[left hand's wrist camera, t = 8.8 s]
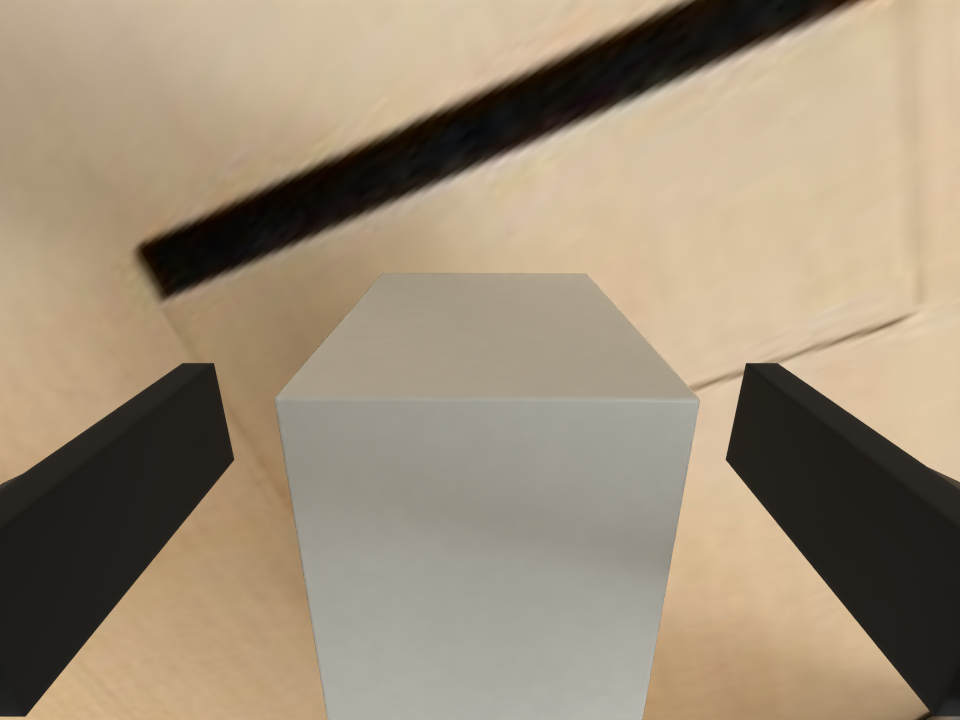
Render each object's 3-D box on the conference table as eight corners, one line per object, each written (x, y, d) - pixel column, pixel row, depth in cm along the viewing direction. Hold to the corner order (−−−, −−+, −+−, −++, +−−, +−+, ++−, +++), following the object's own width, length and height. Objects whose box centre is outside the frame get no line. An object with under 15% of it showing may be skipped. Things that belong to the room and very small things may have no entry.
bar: (381, 272, 14) (272, 397, 7) (587, 273, 14) (702, 398, 7) (419, 806, 23) (390, 1105, 16) (544, 807, 23) (573, 1106, 16)
